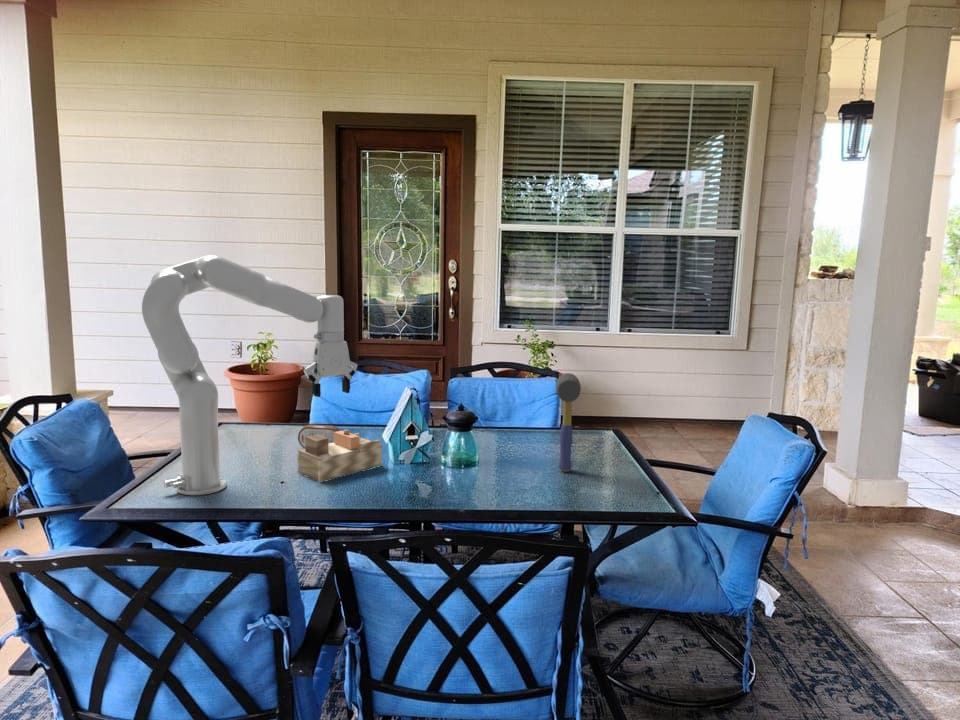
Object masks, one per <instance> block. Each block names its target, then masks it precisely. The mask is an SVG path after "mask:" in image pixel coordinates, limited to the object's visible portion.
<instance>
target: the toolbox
mask: <svg viewBox="0 0 960 720" xmlns="http://www.w3.org/2000/svg"><path fill="white" fill-rule="evenodd" d="M353 434H354V435H357V436H359V448H356V449H358V450H359V453H357V454H353V455H348V456H344V457H340V458H336V459H331V460H327V461H323V462H318V461H316V460H313V459H311V458H308V457H306V456H303V455H301V454H299V453H298V452H297V453H296V455H297V461H296V463H297V473H298V472H299V473H301V474H303V475H302V476H304V475H306V476H308V477H310V478H312V479H311V480H313V479H314V480H313V481H315V480H317V481H319V482H321V481H325V480H329V479H333V478H336V479H338V478H337V477H340V476H344V475H348V474H352V473H355V472H359V471H363V470H367V469H370V468H373V467H377V466H380V465H382V464H383V461H382V460H383V456H382V455H383V453H382V452H383V451H382V448H383V447H382V444H381V443H380V442H381V441H380V439H374V440H369V439H366V438H363V437H360V433H359V432H356V433H353ZM382 466H383V465H382ZM367 471H368V470H367ZM363 472H364V471H363ZM299 473H298V474H299ZM359 473H360V472H359ZM301 474H300V475H301ZM352 475H353V474H352ZM306 476H305V477H306ZM348 476H349V475H348ZM308 477H307V478H308ZM344 477H345V476H344ZM310 478H309V479H310ZM340 478H341V477H340ZM333 480H334V479H333ZM317 481H316V482H317ZM329 481H330V480H329ZM319 482H318V483H319ZM325 482H326V481H325ZM321 483H322V482H321Z"/></svg>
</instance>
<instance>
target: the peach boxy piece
mask: <svg viewBox="0 0 960 720" xmlns="http://www.w3.org/2000/svg"><path fill="white" fill-rule="evenodd" d="M354 434H355V433H351V432H350V430H349V429H344V430H341V431H337V432H334V443H335V444H338V445H340V446H343V447H346V448H349V449H355V448H359V437H360V435H359V436H357V435H354Z"/></svg>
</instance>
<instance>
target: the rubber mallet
mask: <svg viewBox="0 0 960 720" xmlns="http://www.w3.org/2000/svg"><path fill="white" fill-rule="evenodd" d="M581 387H582V386H581V383H580V380H579V379H578V377H577V376H576V375H575V374H573V373H570V372H569V373H563V374H561V375H560V376H559V377H558V379H557V381H556V384H555V391H556V394H557V395H558V398H559V399H560V400H562V401H563V415H562V424H561V427H560V435H559V446H560V450H559V451H560V453H559V455H560V456H559V462H558V468H559V469H560V471H561V472H570V471H571V469H572V460H571V457H572V455H571V454H572V445H573V426H572V411H573V410H572V409H573V408H572V407H573V405H572V404H573V402H574V401H576V400H577V399H578V398H579V397H580V394H581V389H582V388H581Z"/></svg>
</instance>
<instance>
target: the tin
mask: <svg viewBox="0 0 960 720" xmlns="http://www.w3.org/2000/svg"><path fill="white" fill-rule="evenodd" d="M337 431H342V430H341V429H340V428H338V427H337V426H334V425H327V424H326V425H325V424H306V425H304V426H303V427H302V428H301V429H300V430H299V432H298V434H297V435H298V436H297V441H298V444H299V445H300V446H301V447H302V449H305V437H307V436H312V435H320V436H323V437H326V438H328V444H329V443H334V432H337Z"/></svg>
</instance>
